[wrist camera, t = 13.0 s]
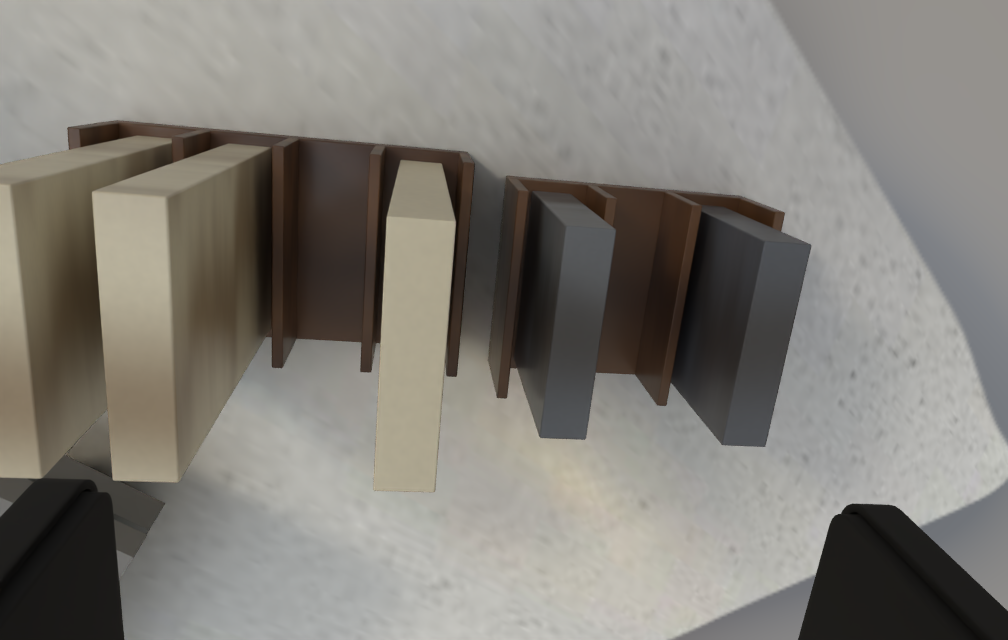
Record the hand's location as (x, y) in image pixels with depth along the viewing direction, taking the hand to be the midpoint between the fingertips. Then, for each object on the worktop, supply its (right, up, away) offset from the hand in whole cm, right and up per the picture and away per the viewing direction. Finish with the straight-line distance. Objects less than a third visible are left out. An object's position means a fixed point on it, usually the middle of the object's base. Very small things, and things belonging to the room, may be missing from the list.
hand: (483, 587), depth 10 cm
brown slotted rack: (+6, +6, +30) cm, 31 cm away
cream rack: (-10, +8, +27) cm, 30 cm away
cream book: (-4, +7, +27) cm, 28 cm away
